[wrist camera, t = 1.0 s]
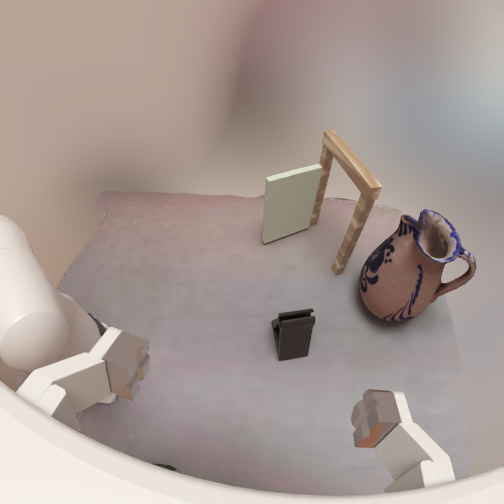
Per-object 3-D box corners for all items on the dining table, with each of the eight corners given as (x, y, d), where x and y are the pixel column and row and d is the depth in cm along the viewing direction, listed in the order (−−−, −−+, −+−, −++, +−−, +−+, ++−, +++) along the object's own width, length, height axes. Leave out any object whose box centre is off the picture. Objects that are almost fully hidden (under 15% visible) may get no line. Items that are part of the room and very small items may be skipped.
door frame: (334, 276, 69) (371, 188, 46) (306, 219, 79) (324, 130, 57) (343, 273, 69) (382, 186, 46) (314, 217, 80) (334, 130, 57)
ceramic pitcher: (359, 259, 72) (393, 186, 51) (428, 285, 67) (478, 223, 47) (343, 318, 62) (386, 251, 42) (422, 345, 57) (486, 292, 37)
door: (259, 236, 74) (263, 174, 58) (303, 220, 78) (316, 160, 62) (264, 243, 73) (269, 181, 57) (308, 227, 77) (322, 167, 60)
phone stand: (307, 356, 57) (320, 336, 47) (278, 361, 56) (285, 342, 47) (298, 317, 62) (308, 291, 53) (271, 321, 62) (276, 295, 52)
